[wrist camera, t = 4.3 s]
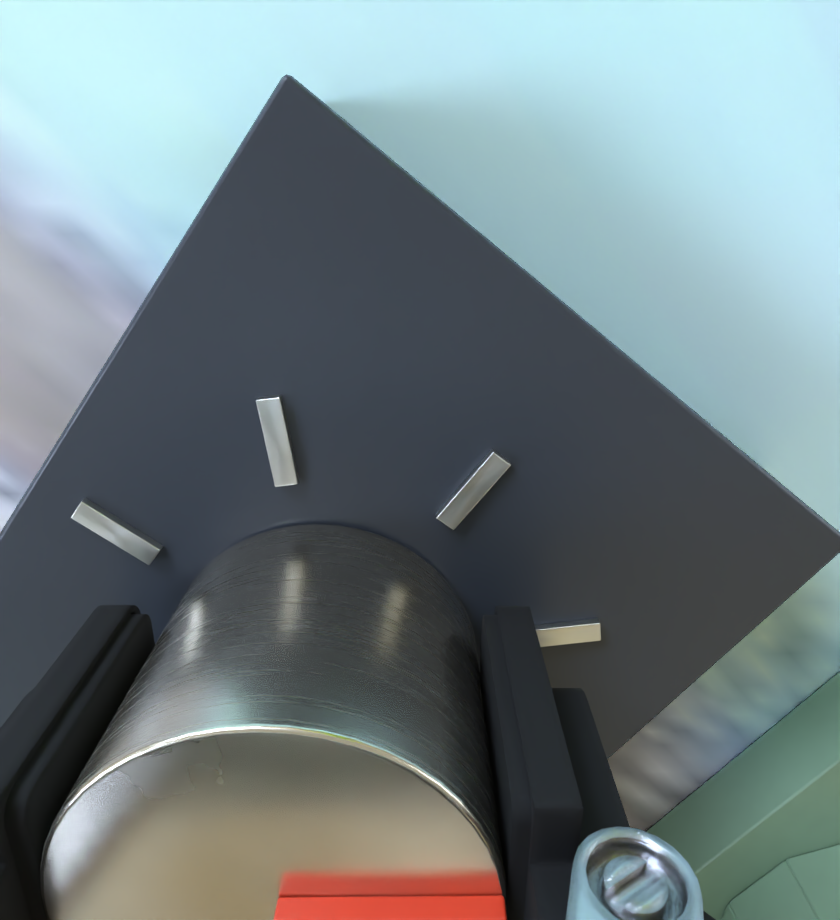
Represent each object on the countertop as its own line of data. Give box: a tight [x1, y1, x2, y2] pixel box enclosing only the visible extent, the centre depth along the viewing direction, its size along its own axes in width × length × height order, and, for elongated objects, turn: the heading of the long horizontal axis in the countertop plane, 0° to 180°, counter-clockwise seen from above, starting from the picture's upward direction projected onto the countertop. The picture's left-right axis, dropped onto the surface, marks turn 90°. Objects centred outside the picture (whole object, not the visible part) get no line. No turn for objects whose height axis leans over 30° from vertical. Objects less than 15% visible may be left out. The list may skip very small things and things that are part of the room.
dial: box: [40, 524, 507, 920], centre depth 10 cm, size 5×5×5 cm
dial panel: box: [0, 75, 840, 759], centre depth 13 cm, size 14×11×3 cm
